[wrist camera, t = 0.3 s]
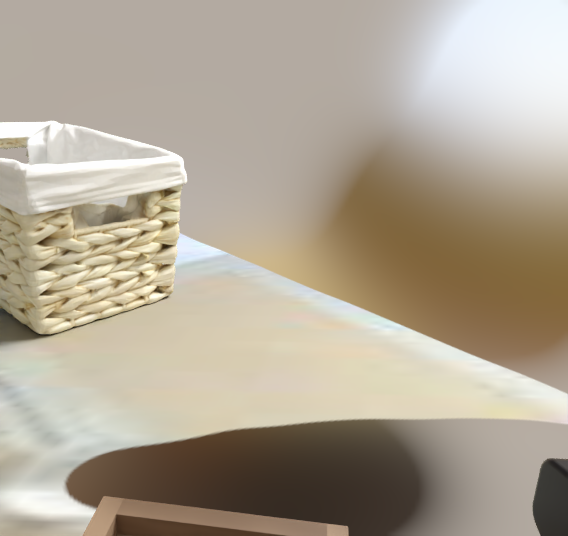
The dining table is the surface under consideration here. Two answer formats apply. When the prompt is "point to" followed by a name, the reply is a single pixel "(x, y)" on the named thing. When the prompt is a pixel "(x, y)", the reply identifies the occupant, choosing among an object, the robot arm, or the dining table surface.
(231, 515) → the walnut tray
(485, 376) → the dining table surface
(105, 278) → the storage basket
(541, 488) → the robot arm
